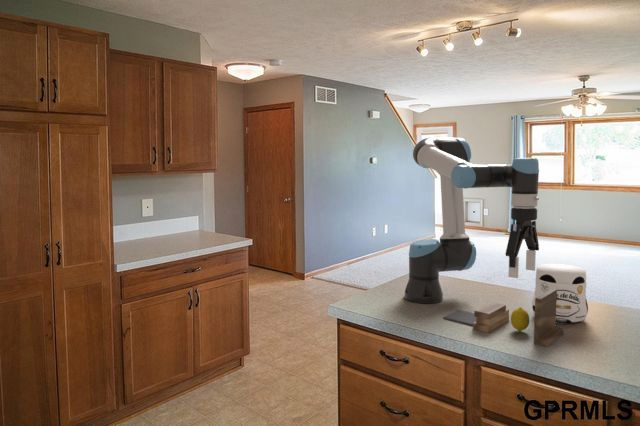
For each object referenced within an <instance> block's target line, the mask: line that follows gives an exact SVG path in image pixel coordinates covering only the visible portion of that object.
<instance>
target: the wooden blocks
mask: <svg viewBox="0 0 640 426" xmlns="http://www.w3.org/2000/svg"><path fill="white" fill-rule="evenodd" d="M556 301H557V290H556V289H551V290H549V291H547V292H546V293H544V294H542V295H540V296H538V297H537V298H535V314H534V317H533V318H534V323H533V344H535V345H538V346H539V345H540V346H543V347H547V348H548V347H549V346H551V344H553V343H554V342H555V341H557V340H558V339H559V338H560V337H562V336H563V335H564V328H565V327H560V326H556V324H557V323H556ZM473 313H474V317H476V322H474V323H473V326H472V329H473V330H475V331H480V332H484V333H490V332H492V331H494V330H495V329H496V328H498V327H500V326H502V325H504V324H506V323H507V322H509V321H510V309H509V308H507V305H506V304H504V303H498V302H494V301H492V302H489V303H487V304H485V305H483V306H480V307H479V308H476V309H475V310H474V311H473Z"/></svg>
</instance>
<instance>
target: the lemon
mask: <svg viewBox="0 0 640 426" xmlns="http://www.w3.org/2000/svg"><path fill="white" fill-rule="evenodd" d="M510 323H511V325H512V327H513V328H514V329H515V330H517V331H518V332H522V331H525V330H526V329H527V328H528V327H529V326H530V315H529V313H528V311H527V310H525V309H524V308H522V307H518V308H516V309H514V310H513V311H512V313H511V316H510Z"/></svg>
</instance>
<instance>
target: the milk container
mask: <svg viewBox="0 0 640 426" xmlns="http://www.w3.org/2000/svg"><path fill="white" fill-rule="evenodd" d="M551 289H556V290H557V301H556V323H555V324H563V325H570V324H571V325H574V324H580V323H582V322H584V321H585V320H586V319H587V317H588V313H589V312H588V311H589V305H588V301H587V293H586V291H587V272H586V269H584V268H583V267H580V266H576V265H571V264H563V263H542V264H538V265H537V266H536V269H535V289H534V294H533V296H532V299H531V308H532V313H533V314H534V315H535V298H537V297H538V296H540V295H542V294H544V293H546V292H547V291H549V290H551Z"/></svg>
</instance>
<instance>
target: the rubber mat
mask: <svg viewBox="0 0 640 426" xmlns="http://www.w3.org/2000/svg"><path fill="white" fill-rule="evenodd" d="M442 318H443V319H444V320H448V321H450V322H454V323H455V322H456V323H460V324H463V325H467V326H471V327H473V323H474V322H476V317H474V312H471V311H466V310H462V309H457V310H455V311H453V312H451V313H449V314H447V315H444V316H443V317H442Z"/></svg>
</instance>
